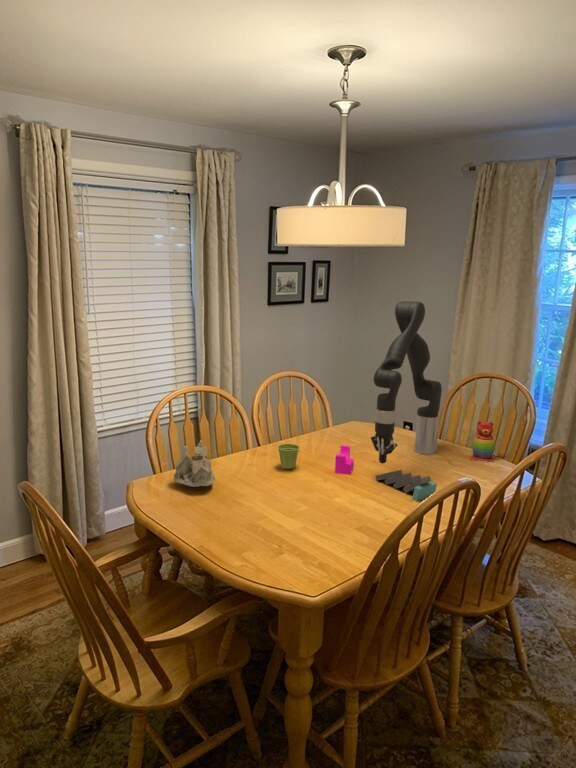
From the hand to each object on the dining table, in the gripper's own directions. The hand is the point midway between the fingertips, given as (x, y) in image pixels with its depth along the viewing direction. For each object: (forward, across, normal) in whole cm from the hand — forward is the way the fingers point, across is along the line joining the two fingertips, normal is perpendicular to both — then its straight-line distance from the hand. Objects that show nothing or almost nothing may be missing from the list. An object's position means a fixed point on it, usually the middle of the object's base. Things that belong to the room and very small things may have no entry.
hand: (382, 462), depth 222 cm
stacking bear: (+7, -6, -55) cm, 56 cm away
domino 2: (+6, -5, 0) cm, 8 cm away
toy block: (+7, +18, +4) cm, 20 cm away
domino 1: (+6, 0, 0) cm, 6 cm away
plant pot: (+7, +31, +24) cm, 40 cm away
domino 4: (+6, -14, 0) cm, 16 cm away
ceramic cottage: (+7, +35, +65) cm, 74 cm away
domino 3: (+6, -9, 0) cm, 11 cm away
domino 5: (+4, -22, -6) cm, 23 cm away
